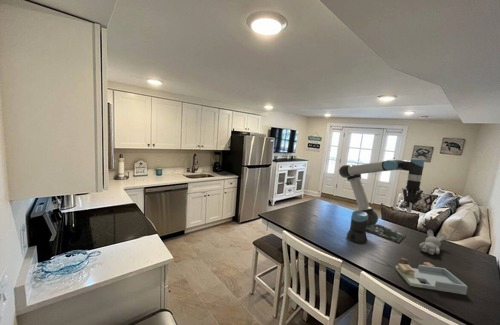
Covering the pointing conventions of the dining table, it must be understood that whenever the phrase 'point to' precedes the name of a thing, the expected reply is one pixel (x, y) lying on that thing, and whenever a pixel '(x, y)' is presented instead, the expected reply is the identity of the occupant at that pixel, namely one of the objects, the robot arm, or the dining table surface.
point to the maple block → (406, 269)
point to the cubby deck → (434, 279)
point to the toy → (432, 243)
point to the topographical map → (385, 233)
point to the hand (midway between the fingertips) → (408, 211)
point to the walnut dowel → (403, 261)
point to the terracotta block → (427, 264)
